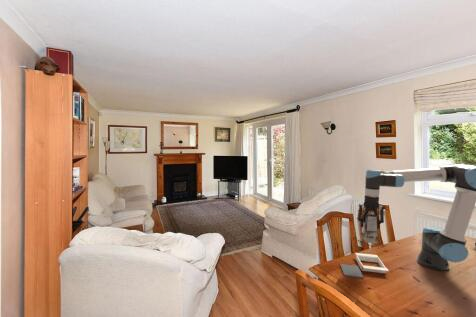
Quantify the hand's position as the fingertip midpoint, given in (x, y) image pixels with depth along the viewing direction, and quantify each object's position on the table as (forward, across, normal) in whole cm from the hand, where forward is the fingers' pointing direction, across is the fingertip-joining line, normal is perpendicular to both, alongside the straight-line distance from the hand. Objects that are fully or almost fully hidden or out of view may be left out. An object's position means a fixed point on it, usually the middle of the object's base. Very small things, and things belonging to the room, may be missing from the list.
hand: (369, 232), depth 141 cm
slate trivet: (+21, +11, +8) cm, 25 cm away
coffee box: (+5, 0, 0) cm, 5 cm away
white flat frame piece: (+21, -2, -1) cm, 21 cm away
